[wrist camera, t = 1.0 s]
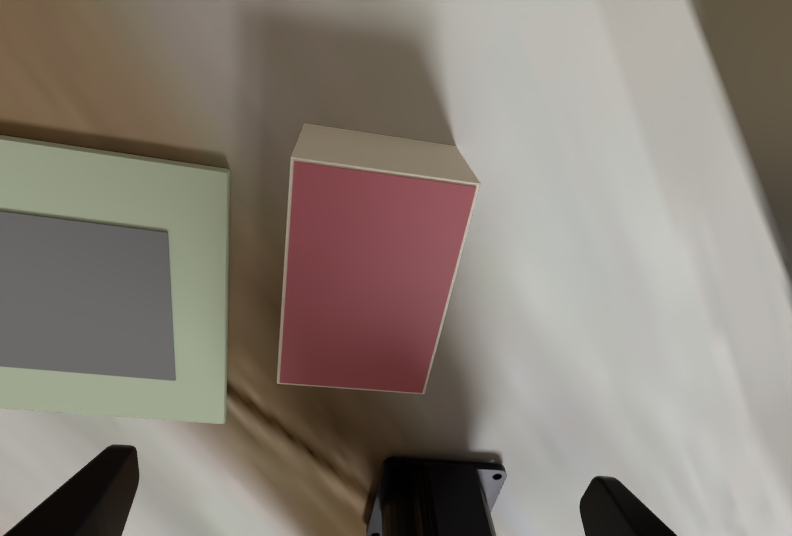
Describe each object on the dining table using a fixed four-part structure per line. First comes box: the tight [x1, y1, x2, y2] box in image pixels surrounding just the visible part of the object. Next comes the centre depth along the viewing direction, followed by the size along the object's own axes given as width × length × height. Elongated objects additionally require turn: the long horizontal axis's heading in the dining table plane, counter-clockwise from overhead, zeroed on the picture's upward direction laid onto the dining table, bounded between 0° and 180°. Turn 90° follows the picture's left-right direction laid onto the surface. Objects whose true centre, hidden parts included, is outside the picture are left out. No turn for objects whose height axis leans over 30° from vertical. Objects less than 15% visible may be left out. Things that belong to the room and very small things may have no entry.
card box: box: [277, 123, 480, 394], centre depth 17 cm, size 8×5×4 cm, turn 170°
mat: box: [0, 135, 230, 424], centre depth 18 cm, size 12×14×1 cm
